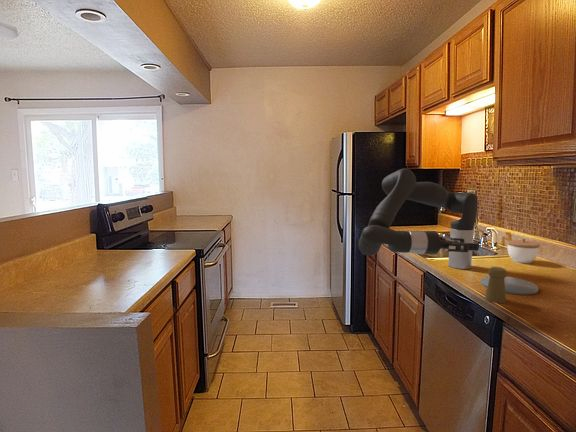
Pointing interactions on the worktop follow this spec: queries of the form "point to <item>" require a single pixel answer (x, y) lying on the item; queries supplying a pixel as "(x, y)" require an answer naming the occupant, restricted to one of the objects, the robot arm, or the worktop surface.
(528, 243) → the lidded bowl
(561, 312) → the worktop surface
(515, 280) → the slate plate
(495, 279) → the cork
